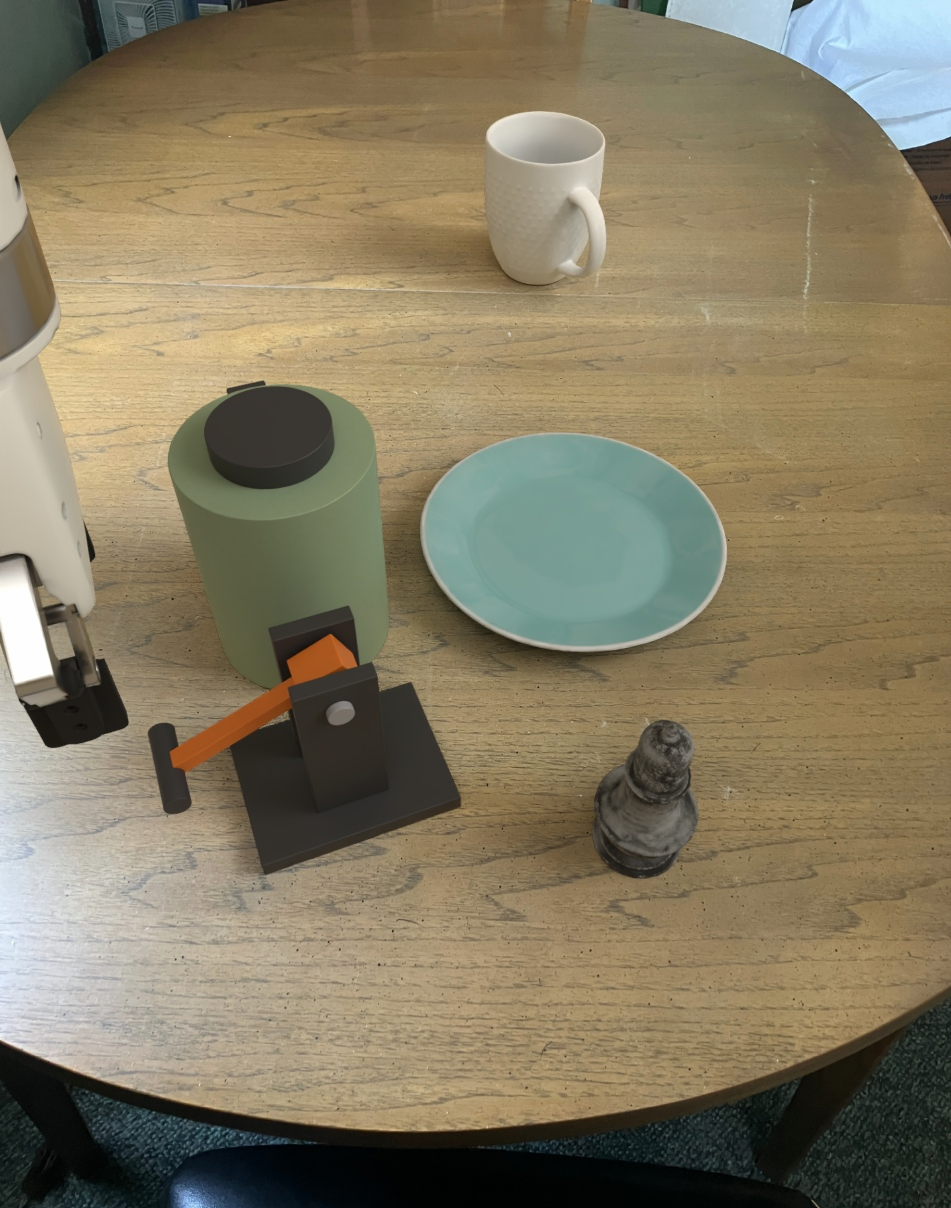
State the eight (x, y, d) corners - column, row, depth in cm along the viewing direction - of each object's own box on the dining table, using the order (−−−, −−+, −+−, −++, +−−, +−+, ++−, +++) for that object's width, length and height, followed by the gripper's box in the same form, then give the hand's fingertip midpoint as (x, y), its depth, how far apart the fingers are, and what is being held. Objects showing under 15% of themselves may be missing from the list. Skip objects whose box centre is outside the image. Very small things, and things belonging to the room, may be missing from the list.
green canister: (241, 714, 61) (182, 520, 47) (200, 569, 69) (139, 368, 55) (412, 663, 64) (401, 466, 50) (353, 529, 72) (331, 328, 58)
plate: (483, 427, 80) (484, 400, 77) (745, 498, 75) (754, 471, 73) (369, 617, 66) (367, 590, 64) (680, 718, 61) (688, 693, 59)
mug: (636, 296, 93) (659, 163, 83) (546, 330, 89) (558, 195, 79) (547, 229, 101) (557, 100, 91) (460, 258, 97) (461, 126, 87)
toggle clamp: (264, 875, 54) (223, 760, 44) (230, 748, 59) (186, 619, 49) (461, 807, 57) (463, 684, 47) (411, 691, 62) (404, 559, 52)
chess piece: (582, 874, 54) (610, 768, 45) (591, 785, 58) (617, 669, 49) (686, 891, 54) (734, 786, 45) (687, 799, 58) (732, 685, 48)
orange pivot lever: (180, 820, 50) (151, 806, 48) (164, 744, 53) (136, 728, 51) (373, 704, 49) (350, 685, 47) (345, 633, 52) (323, 613, 50)
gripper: (-214, 171, 32) (-31, 529, 45) (-255, 508, 22) (-4, 844, 35) (21, 143, 34) (131, 494, 47) (84, 439, 24) (202, 782, 37)
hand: (74, 643), depth 41 cm, fingers open, 9 cm apart
